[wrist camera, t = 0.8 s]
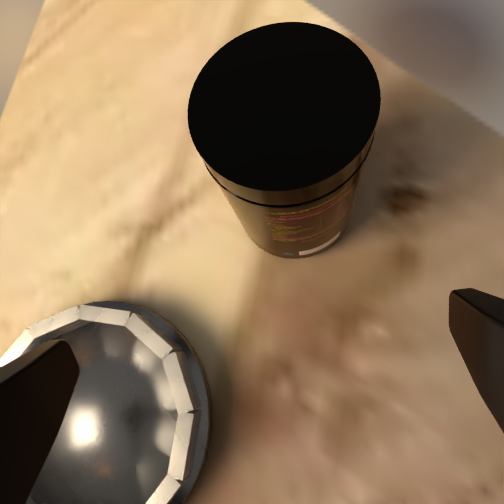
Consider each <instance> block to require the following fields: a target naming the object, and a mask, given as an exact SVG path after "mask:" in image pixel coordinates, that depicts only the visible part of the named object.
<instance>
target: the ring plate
mask: <svg viewBox="0 0 504 504" xmlns="http://www.w3.org/2000/svg"><path fill="white" fill-rule="evenodd" d="M59 339H65V340H67V341H68V342H69V344H70V346H71V348H72V350H73V353H74V355H75V357H76V359H77V362H78V364H79V368H80V373H79V378H78V380H77V383H76V386H75V389H74V392H73V394H72V397H71V400H70V403H69V406H68V408H67V411H66V414H65V417H64V420H63V422H62V425H61V428H60V430H59V433H58V435H57V437H56V440H55V442H54V444H53V446H52V448H51V451H50V453H49V455H48V457H47V459H46V461H45V463H44V466H43V468H42V470H41V472H40V474H39V476H38V478H37V481H36V483H35V485H34V487H33V489H32V491H31V493H30V495H29V498H28V500H27V502H26V504H182V503H183V502H184V501H185V499H186V498H187V496H188V495H189V493H190V492H191V490H192V489H193V487H194V485H195V483H196V481H197V479H198V477H199V475H200V473H201V470H202V468H203V465H204V462H205V459H206V456H207V452H208V447H209V443H210V438H211V427H212V403H211V396H210V389H209V385H208V382H207V378H206V374H205V372H204V369H203V367H202V364H201V362H200V359H199V358H198V356H197V354H196V352H195V351H194V349H193V347H192V346H191V344H190V343H189V342H188V340H187V339H186V338H185V336H184V335H183V334H182V333H181V332H180V331H179V330H178V329H177V328H176V327H175V326H174V325H173V324H171V323H170V322H169V321H167V320H166V319H165V318H163V317H161V316H160V315H158V314H156V313H154V312H152V311H150V310H147V309H145V308H142V307H139V306H135V305H131V304H126V303H122V302H109V301H105V302H93V303H88V304H84V305H76V306H74V307H71V308H69V309H67V310H65V311H62V312H60V313H58V314H55V315H53V316H51V317H48V318H46V319H44V320H41V321H39V322H37V323H34V324H32V325H30V328H26V329H25V330H24V332H23V333H22V334H21V335H20V336H19V338H18V339H17V340H16V341H15V342H14V344H13V345H12V346H11V347H10V348H9V350H8V351H7V352H6V353H5V354H4V356H3V357H2V358H1V359H0V367H1V366H3V365H5V364H7V363H9V362H11V361H12V360H14V359H16V358H18V357H20V356H22V355H23V354H25V353H27V352H29V351H31V350H33V349H34V348H36V347H38V346H40V345H42V344H44V343H45V342H48V341H51V340H59Z"/></svg>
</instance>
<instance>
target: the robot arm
mask: <svg viewBox="0 0 504 504" xmlns="http://www.w3.org/2000/svg"><path fill="white" fill-rule="evenodd" d="M449 328H450V332H451V334H452V336H453V339H454V341H455V343H456V345H457V347H458V349H459V351H460V353H461V356H462V358H463V360H464V362H465V364H466V366H467V368H468V370H469V373H470V375H471V377H472V379H473V381H474V383H475V385H476V387H477V389H478V391H479V393H480V395H481V397H482V398H483V400H484V402H485V404H486V405H487V407H488V408H489V410H490V412H491V413H492V415H493V416H494V418H495V420H496V421H497V423H498V425H499V426H500V428H501V429H502V431H503V433H504V299H502V298H499V297H496V296H493V295H490V294H487V293H484V292H481V291H479V290H476V289H473V288H465V289H458V290H453V291H451V293H450V296H449ZM79 373H80V368H79V364H78V362H77V359H76V357H75V355H74V353H73V350H72V348H71V346H70V344H69V342H68V341H67V340H65V339H59V340H51V341H48V342H45V343H44V344H42V345H40V346H38V347H36V348H34V349H33V350H31V351H29V352H27V353H25V354H23V355H22V356H20V357H18V358H16V359H14V360H12V361H11V362H9V363H7V364H5V365H3V366H1V367H0V504H26V502H27V500H28V498H29V495H30V493H31V491H32V489H33V487H34V485H35V483H36V481H37V478H38V476H39V474H40V472H41V470H42V468H43V466H44V463H45V461H46V459H47V457H48V455H49V453H50V451H51V448H52V446H53V444H54V442H55V440H56V437H57V435H58V433H59V430H60V428H61V425H62V422H63V420H64V417H65V414H66V411H67V408H68V406H69V403H70V400H71V397H72V394H73V392H74V389H75V386H76V383H77V380H78V378H79Z"/></svg>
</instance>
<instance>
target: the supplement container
mask: <svg viewBox="0 0 504 504" xmlns="http://www.w3.org/2000/svg"><path fill="white" fill-rule="evenodd" d="M380 101H381V97H380V87H379V81H378V78H377V75H376V72H375V70H374V68H373V66H372V64H371V62H370V61H369V59H368V57H367V56H366V55H365V54H364V52H363V51H362V50H361V49H360V48H359V47H358V46H357V45H356V44H355V43H353V42H352V41H351V40H350V39H348V38H347V37H345V36H344V35H342V34H340V33H338V32H336V31H334V30H332V29H329V28H326V27H323V26H320V25H316V24H310V23H302V22H284V23H276V24H270V25H266V26H262V27H259V28H256V29H253V30H250V31H248V32H246V33H244V34H242V35H240V36H238V37H236V38H234V39H233V40H231V41H230V42H228V43H227V44H226V45H224V46H223V47H222V48H220V49H219V50H218V51H217V52H216V53H215V54H214V55H213V56H212V57H211V58H210V59H209V61H208V62H207V63H206V64H205V66H204V67H203V68H202V70H201V72H200V73H199V75H198V77H197V79H196V81H195V83H194V85H193V88H192V91H191V94H190V98H189V104H188V126H189V130H190V134H191V138H192V141H193V143H194V145H195V147H196V149H197V151H198V153H199V154H200V156H201V158H202V159H203V161H204V163H205V166H206V168H207V169H208V171H209V173H210V174H211V176H212V177H213V179H214V180H215V181H216V182H217V184H218V185H219V187H220V188H221V190H222V192H223V194H224V195H225V197H226V199H227V200H228V202H229V204H230V206H231V207H232V209H233V211H234V212H235V214H236V216H237V218H238V219H239V221H240V223H241V224H242V226H243V228H244V229H245V231H246V233H247V234H248V236H249V237H250V239H251V240H252V241H253V242H254V243H255V244H256V245H257V246H258V247H260V248H261V249H263V250H264V251H266V252H268V253H270V254H272V255H275V256H278V257H282V258H290V259H299V258H306V257H310V256H313V255H316V254H319V253H321V252H323V251H324V250H326V249H328V248H329V247H330V246H332V245H333V244H334V243H335V242H336V241H337V240H338V239H339V238H340V237H341V236H342V234H343V233H344V231H345V230H346V228H347V226H348V223H349V221H350V218H351V214H352V210H353V207H354V203H355V199H356V195H357V192H358V188H359V184H360V180H361V177H362V173H363V169H364V165H365V162H366V159H367V156H368V154H369V152H370V149H371V146H372V142H373V138H374V133H375V128H376V124H377V121H378V116H379V111H380Z"/></svg>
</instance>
